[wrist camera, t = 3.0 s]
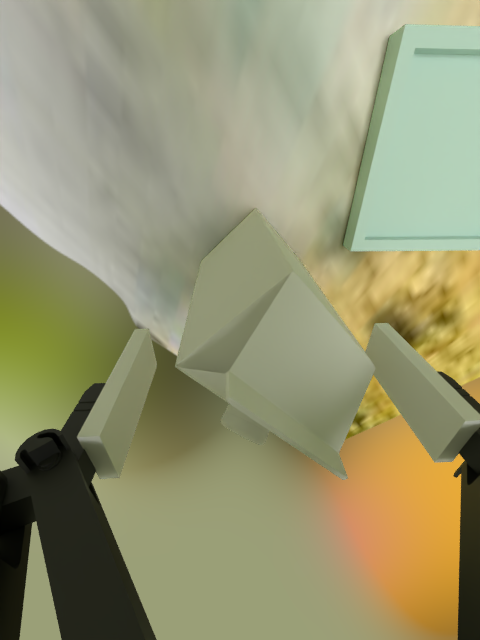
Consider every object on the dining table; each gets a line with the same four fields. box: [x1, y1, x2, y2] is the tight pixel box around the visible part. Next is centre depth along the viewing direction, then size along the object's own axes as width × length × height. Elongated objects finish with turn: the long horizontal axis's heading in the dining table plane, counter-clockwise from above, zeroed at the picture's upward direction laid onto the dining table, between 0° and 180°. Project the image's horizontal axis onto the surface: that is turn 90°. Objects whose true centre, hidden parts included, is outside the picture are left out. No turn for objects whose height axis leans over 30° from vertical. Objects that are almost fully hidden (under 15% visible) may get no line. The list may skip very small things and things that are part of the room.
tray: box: [343, 24, 480, 251], centre depth 20 cm, size 14×14×2 cm
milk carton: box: [175, 208, 376, 480], centre depth 17 cm, size 7×7×19 cm
